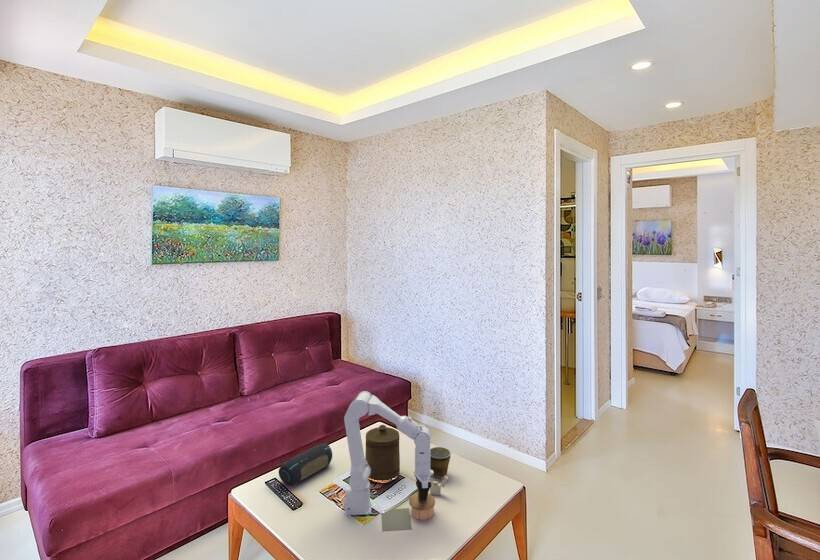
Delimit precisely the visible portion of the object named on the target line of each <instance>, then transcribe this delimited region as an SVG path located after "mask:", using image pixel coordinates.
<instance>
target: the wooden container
mask: <svg viewBox="0 0 820 560" xmlns="http://www.w3.org/2000/svg"><path fill="white" fill-rule="evenodd" d="M400 453H401V452H400V431H399V430H397V429H395V428H394V427H393V428H392V427H388V426H386V425H385V424H381V425H379V426H377V427H375V428H371V429H369V430H368V431H367V432H366V433H365V454H364V458H365V459H366V460H367V464H368V465H369V467H370V469H371V474H370V476H369V478H371V479H374V480H382V481H383V480H389V479H392V478H395V477H396V476H398V475H399V474H400V475H401V473H400V472H401V468H400V467H401V464H400V463H401V461H400V460H401V456H400ZM400 475H399V476H400Z"/></svg>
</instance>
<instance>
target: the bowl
mask: <svg viewBox="0 0 820 560" xmlns="http://www.w3.org/2000/svg"><path fill="white" fill-rule="evenodd" d="M410 507H411V506H410ZM434 507H435V506H434ZM434 507H432V508H431V509H429V510H417V509H414V508H412V507H411V508H410V509H411V515H412V517H414V518H415V519H417V520H428V519H430V518H432V517H433V515H434V514H435V513H434V511H435V510H434V509H435V508H434Z"/></svg>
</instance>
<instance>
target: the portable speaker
mask: <svg viewBox="0 0 820 560" xmlns="http://www.w3.org/2000/svg"><path fill="white" fill-rule="evenodd" d="M332 459H333V451H332V448H331V446H330V445H329V444H327V443H320V444H317V445H314V446H312V447H310V448H308V449H307V450H305V451H303V452H301V453H299V454H297V455H295V456H294V457H290V458H289V459H288V460H286V461H284V462H283V463H282V464H281V465H280V467H279V468H278V475H279V478H280V480H281V482H282V483H284V484H285V485H287V486H293V485H296V484H298V483H299V482H301V481H303V480H305V479H307V478H308V477H310V476H312V475H314V474H315V473H317V472H319V471H320V470H322V469H324V468H326V467H328V466H329V465H330V464H331V462H332Z"/></svg>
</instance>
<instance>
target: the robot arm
mask: <svg viewBox="0 0 820 560" xmlns="http://www.w3.org/2000/svg"><path fill="white" fill-rule="evenodd" d="M367 413H368V415H367ZM366 415H367V416H372V415H379V416H381V417H382V418H384V419H386V420H387V421H389V422H391V423H393V424H394V425H395V426H396V430H397V431H398V432H399V433H402V435H403V434H404V435H405V436H406V437H408V438H409V439H411V440H413V443H414V444H415V448H414V472H413V475H414V477H415V479H416V481H415V486H416V488H417V491H418V490H419V495H420V500H421V501H425V500H426V499H427V496H428V494H429V493H430V487H431V485H432V481H429V480H430V479H431V476H432V475H433V474H434V472H433V470H431V469H430V454H431V438H432V432H431V429H430V428H429V427H428V426H427V425H425V424H424V425H423V424H419V423H417V422H416V421H415V420H413V418H412V417H411V416H410V415H409V416H407V415H400V414H398V413H397V412H396V411H394V410H392V409H391V408H390V407H389V406H388V405H387V404H385V403H383V401H381V400H380V399H379V398H378V397H377V396H376V395H374V394H371V392H369V391H366V390H365V391H364V390H363V391H360V392H359V393H358V394H357V395H356V396H355V397H354V399H353V400H352V402H351V403H350V405H349V406H348V408H347V410H346V412H345V414H344V417H343V421H344V426H345V435H346V439H347V445H348V451H349V458H350V469H349V470H350V471H349V474H350V478H349V480H348V485H345V492H344V493H345V494H344V497H345V498H344V499H345V500H344V509H345V510H344V512H345V513H344V515H345V516H357V515H371V514H372V506H371V507H370V500H371V483H370V482H371V481H369V480H368V478H369V476H370V474H371V469H370V467H369V465H368V464H367V460H366V459H365V453H364V446H363V439H362V433H361V429H360V421H359V419H361V418H363V417H365V416H366Z"/></svg>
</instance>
